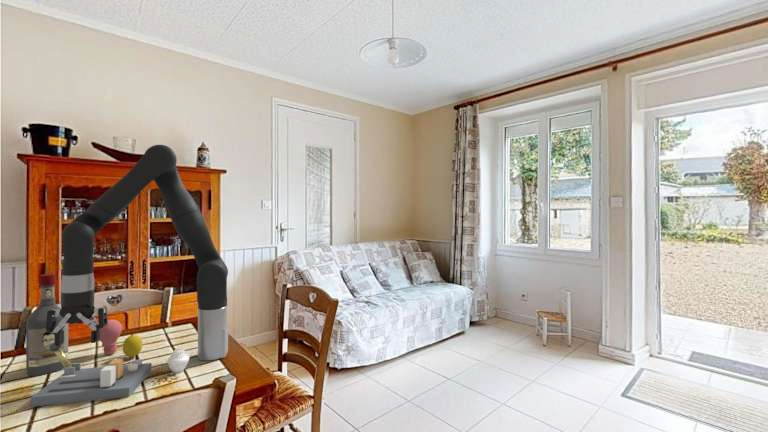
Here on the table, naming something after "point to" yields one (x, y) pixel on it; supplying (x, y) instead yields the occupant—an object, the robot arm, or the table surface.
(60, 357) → the brass lever
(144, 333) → the table surface
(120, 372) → the orange slider
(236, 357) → the table surface
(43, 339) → the liquor
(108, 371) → the grey slider
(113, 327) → the light bulb
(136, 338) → the lemon
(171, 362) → the white egg shape
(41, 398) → the panel
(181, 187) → the robot arm
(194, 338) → the table surface
